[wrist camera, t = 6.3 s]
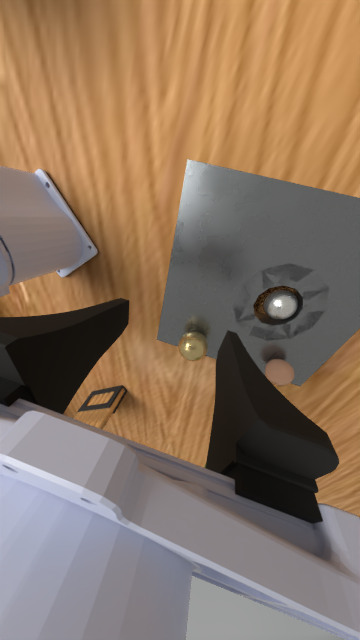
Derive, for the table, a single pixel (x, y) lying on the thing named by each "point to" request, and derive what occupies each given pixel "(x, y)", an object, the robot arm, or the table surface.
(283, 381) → the terracotta ball
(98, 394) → the ammunition clip
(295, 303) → the steel ball
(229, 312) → the hole plate
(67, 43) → the table surface
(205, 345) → the brass ball
